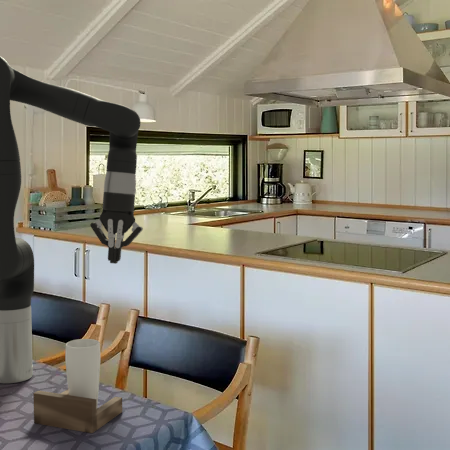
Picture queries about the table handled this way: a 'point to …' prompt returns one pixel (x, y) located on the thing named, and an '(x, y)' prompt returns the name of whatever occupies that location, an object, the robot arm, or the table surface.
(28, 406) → the table surface
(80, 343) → the white cup
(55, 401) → the walnut dock
